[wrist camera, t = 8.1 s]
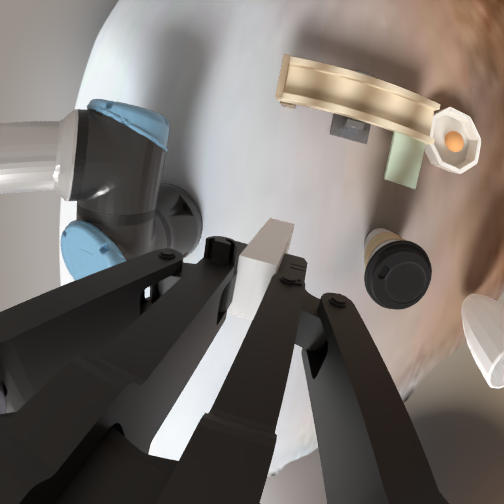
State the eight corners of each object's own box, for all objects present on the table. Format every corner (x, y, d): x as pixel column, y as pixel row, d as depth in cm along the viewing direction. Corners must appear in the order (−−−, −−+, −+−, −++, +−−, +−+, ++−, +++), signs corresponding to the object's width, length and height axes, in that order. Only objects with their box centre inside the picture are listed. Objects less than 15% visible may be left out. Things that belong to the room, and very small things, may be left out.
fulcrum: (279, 123, 42) (271, 117, 36) (291, 63, 38) (285, 48, 31) (365, 144, 40) (373, 142, 33) (377, 83, 36) (386, 70, 29)
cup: (491, 276, 40) (547, 335, 21) (473, 321, 44) (515, 389, 24) (454, 269, 42) (508, 333, 23) (436, 317, 46) (473, 392, 26)
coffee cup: (354, 217, 45) (368, 245, 31) (407, 217, 42) (439, 244, 28) (353, 270, 47) (363, 315, 34) (403, 269, 45) (429, 313, 31)
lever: (267, 149, 36) (264, 149, 33) (284, 61, 32) (283, 53, 29) (415, 189, 35) (424, 193, 32) (432, 106, 30) (442, 104, 27)
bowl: (416, 158, 39) (424, 158, 35) (426, 103, 35) (434, 99, 31) (463, 177, 37) (473, 180, 33) (472, 125, 33) (483, 124, 30)
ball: (462, 153, 32) (461, 156, 35) (465, 132, 31) (465, 137, 33) (442, 146, 34) (443, 149, 37) (446, 125, 33) (446, 130, 35)
